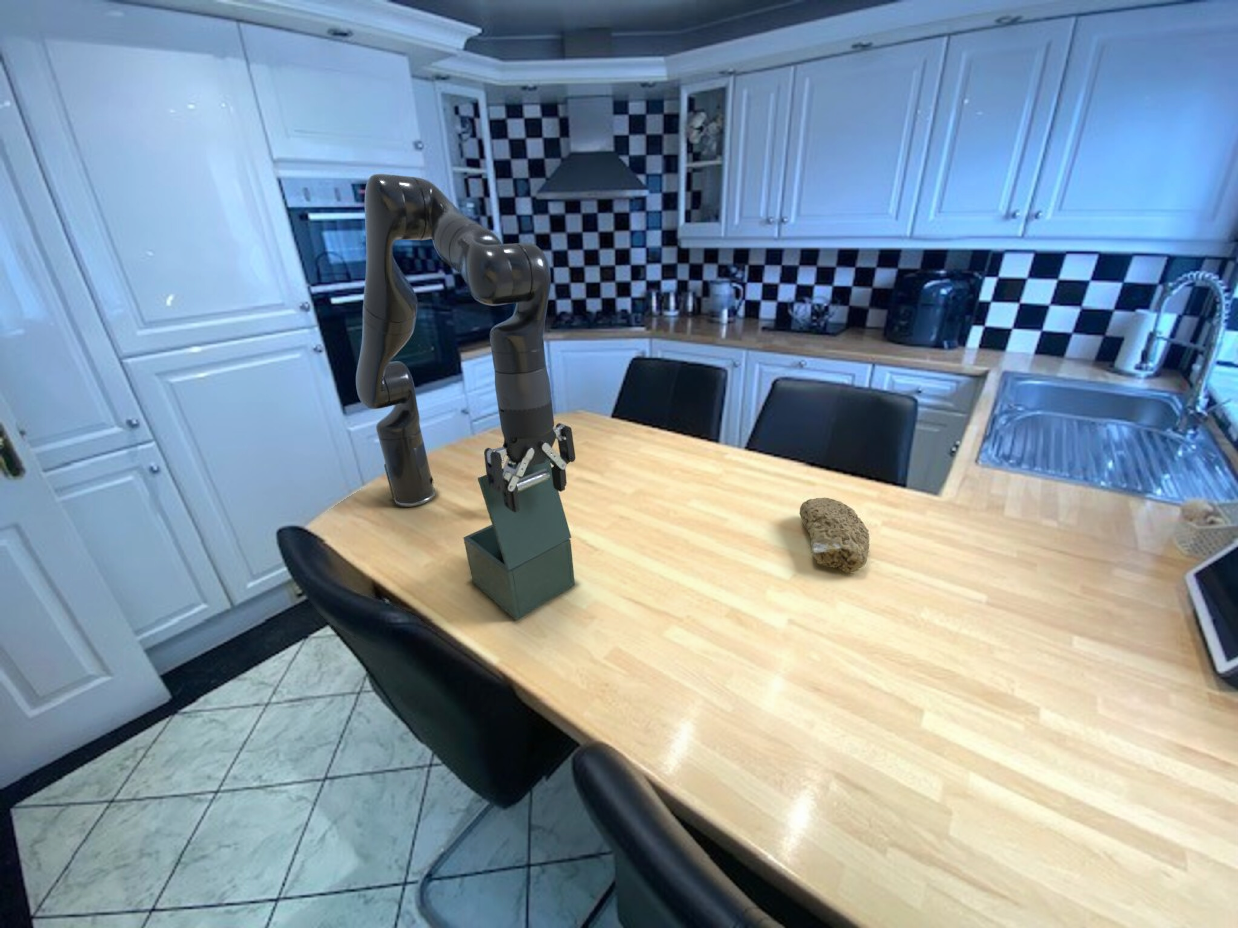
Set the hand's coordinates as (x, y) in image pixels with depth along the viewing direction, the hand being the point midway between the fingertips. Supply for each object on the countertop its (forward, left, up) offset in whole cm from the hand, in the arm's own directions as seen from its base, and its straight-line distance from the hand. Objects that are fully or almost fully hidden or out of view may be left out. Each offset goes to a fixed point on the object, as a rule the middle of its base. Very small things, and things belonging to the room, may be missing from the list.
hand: (537, 499), depth 78 cm
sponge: (+39, +40, -21) cm, 59 cm away
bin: (-8, +3, -21) cm, 22 cm away
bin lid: (-4, +1, -3) cm, 5 cm away
